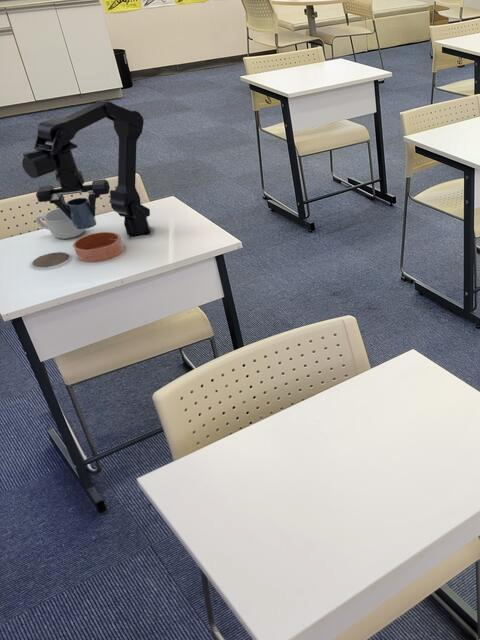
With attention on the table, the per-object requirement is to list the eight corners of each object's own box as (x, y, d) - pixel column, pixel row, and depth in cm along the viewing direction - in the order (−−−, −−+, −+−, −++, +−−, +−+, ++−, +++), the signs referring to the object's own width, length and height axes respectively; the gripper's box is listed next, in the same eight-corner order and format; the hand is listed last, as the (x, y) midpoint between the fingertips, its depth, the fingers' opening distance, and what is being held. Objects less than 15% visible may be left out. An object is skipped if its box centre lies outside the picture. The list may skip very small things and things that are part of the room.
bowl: (125, 242, 224) (121, 229, 221) (123, 259, 214) (118, 246, 211) (80, 248, 220) (75, 235, 218) (75, 266, 210) (70, 253, 207)
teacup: (95, 229, 232) (87, 206, 227) (76, 243, 223) (68, 220, 219) (55, 228, 233) (47, 205, 229) (35, 242, 224) (26, 218, 220)
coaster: (71, 252, 218) (70, 250, 218) (67, 265, 211) (67, 264, 210) (35, 257, 215) (35, 255, 215) (30, 271, 208) (30, 269, 207)
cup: (97, 219, 214) (89, 196, 210) (95, 227, 209) (87, 204, 205) (75, 222, 212) (67, 199, 208) (73, 230, 207) (65, 206, 203)
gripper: (102, 154, 209) (118, 203, 218) (33, 162, 204) (52, 212, 213) (99, 166, 201) (116, 217, 210) (27, 174, 195) (47, 226, 204)
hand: (83, 217), depth 209 cm, fingers closed on cup, 6 cm apart
